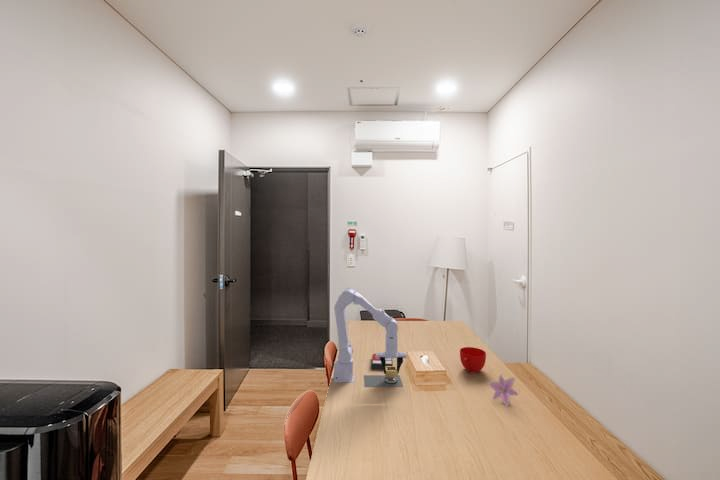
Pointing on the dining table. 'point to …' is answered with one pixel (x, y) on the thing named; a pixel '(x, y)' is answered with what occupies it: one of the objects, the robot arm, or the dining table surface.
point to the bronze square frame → (391, 371)
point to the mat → (380, 381)
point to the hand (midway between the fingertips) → (391, 372)
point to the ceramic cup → (472, 359)
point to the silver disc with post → (391, 379)
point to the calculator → (377, 363)
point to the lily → (503, 389)
